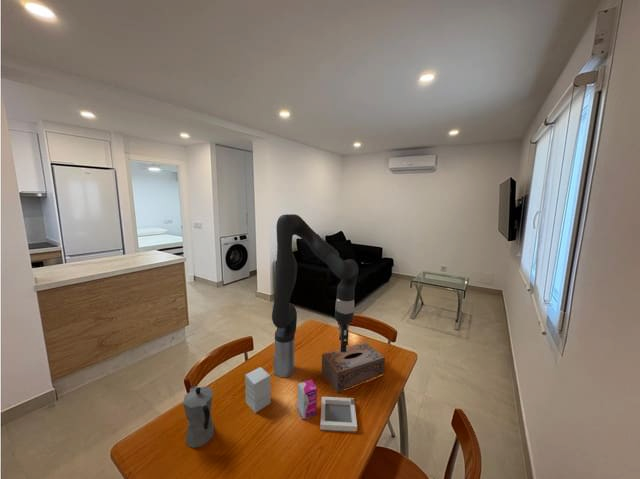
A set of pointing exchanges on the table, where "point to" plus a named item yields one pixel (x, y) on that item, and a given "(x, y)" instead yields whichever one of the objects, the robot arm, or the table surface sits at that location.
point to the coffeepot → (198, 416)
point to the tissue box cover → (352, 366)
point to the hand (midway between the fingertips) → (342, 345)
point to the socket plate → (338, 414)
